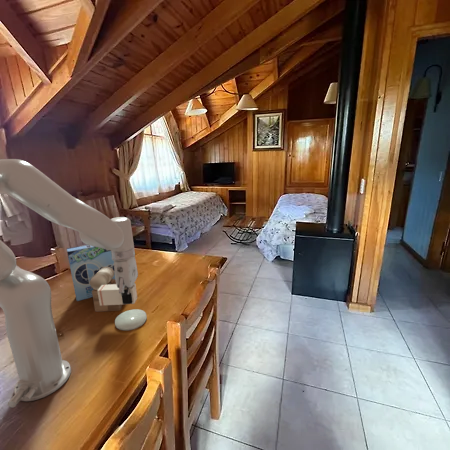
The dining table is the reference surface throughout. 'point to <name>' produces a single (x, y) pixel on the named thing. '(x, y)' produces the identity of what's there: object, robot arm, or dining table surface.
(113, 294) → the white box
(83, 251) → the gum box
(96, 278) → the dispenser
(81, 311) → the dining table surface
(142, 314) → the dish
